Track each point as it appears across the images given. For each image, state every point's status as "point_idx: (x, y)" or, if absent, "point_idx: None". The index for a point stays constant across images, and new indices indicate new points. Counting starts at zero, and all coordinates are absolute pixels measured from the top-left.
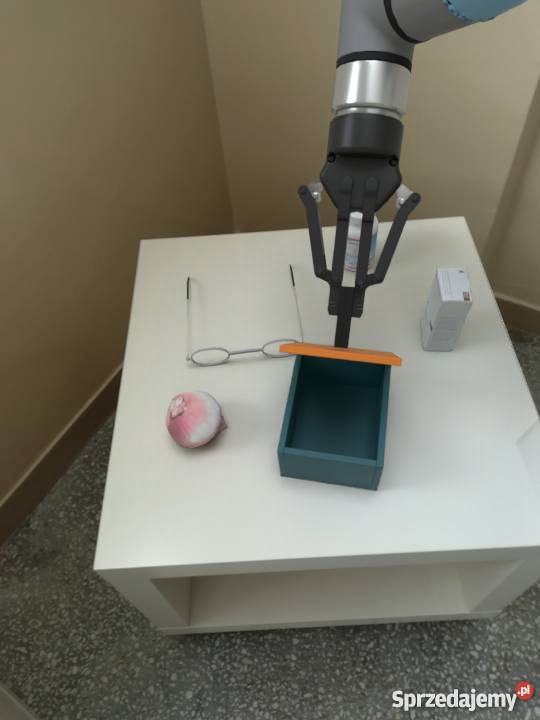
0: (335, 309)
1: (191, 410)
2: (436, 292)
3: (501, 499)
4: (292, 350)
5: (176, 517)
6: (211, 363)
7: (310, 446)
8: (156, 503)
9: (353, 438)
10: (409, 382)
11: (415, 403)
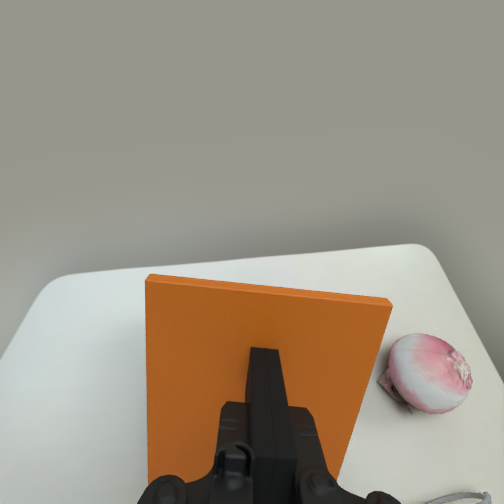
0: (293, 417)
1: (440, 357)
2: None
3: (62, 313)
4: (363, 298)
5: (386, 279)
6: (443, 501)
7: None
8: (411, 290)
9: None
10: (126, 490)
11: (127, 445)
